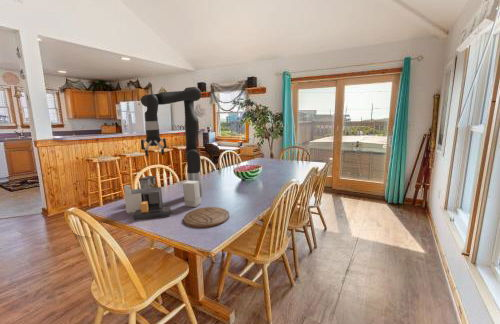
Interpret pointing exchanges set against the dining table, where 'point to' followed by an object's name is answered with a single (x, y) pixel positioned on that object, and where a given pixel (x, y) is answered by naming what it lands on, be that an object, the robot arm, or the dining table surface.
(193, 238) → the dining table surface
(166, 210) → the console
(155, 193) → the dark grey stand
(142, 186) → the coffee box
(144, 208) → the fader
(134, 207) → the sliding door
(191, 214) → the trivet
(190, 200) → the skincare box
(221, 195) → the dining table surface
